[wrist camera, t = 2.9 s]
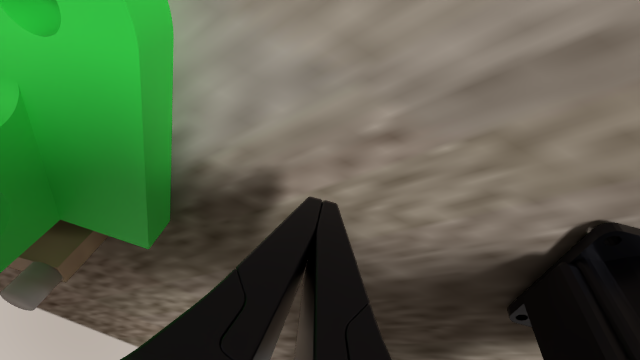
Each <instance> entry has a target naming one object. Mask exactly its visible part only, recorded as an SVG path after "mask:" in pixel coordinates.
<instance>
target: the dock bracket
mask: <svg viewBox="0 0 640 360" xmlns="http://www.w3.org/2000/svg"><path fill="white" fill-rule="evenodd" d="M107 237H108V235H105V234H102V233H99V232H96V231H93V230H90V229H87V228H84V227H81V226H78V225H75V224H72V223H69V222H66V221H63V220H59V221H58V222H57V223H56V224H55V225H54V226H53V227H51V228H50V229H49V230H48V231H47V232H46V233H45V234H44V235H42V236H41V237H40V238H39V239H38V240H37V241H36V242H35V243H33V244H32V245H31V246H30V247H29V248H28V249H27V250H26V251H24V252H23V253H22V254H21V255H20V256H19V257H18V258H17V259H15V260H14V261H13V262H12V263H11V264H10V265H9V266H8V267H9V268H12V269H16V270H20V271H23V272H22V273H21V274H20V275H18V276H17V277H16V278H15V279H14V280H13V281H12V282H11V283H10V284H9V285H8V286H7V287H6V288H5V289H4V290H3V291H1V292H0V295H1V296H2V298H3V299H5V300H6V301H7V302H9V303H10V304H12V305H14V306H16V307H18V308H21V309H24V310H34V309H35V308H36V307H37V306H38V305H39V304H40V303H41V302H42V301H43V300H44V298H45V297H46V296H47V295H48V294H49V293H50V292H51V291H52V290H53V289H54V288H55V287H56V286H57V284H58V283H59V282H60V281H61V282H65V283H66V282H67V281H68V280H69V279H70V278H71V277H72V276H73V274H74V273H75V272H76V271H77V270H78V269H79V268H80V267H81V266H82V265H83V263H84V262H85V261H86V260H87V259H88V258H89V257H90V256H91V255H92V254H93V252H94V251H95V250H96V249H97V248H98V247H99V246H100V245H101V244H102V243H103V241H104V240H105V239H106V238H107Z"/></svg>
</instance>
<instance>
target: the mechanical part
mask: <svg viewBox="0 0 640 360" xmlns="http://www.w3.org/2000/svg"><path fill="white" fill-rule="evenodd" d="M172 89H173V24H172V17H171V13H170V8H169V4H168V1H167V0H0V273H1V272H2V271H3V270H4V269H5V268H6V267H8V266H9V265H10V264H11V263H12V262H13V261H14V260H15V259H17V258H18V257H19V256H20V255H21V254H22V253H23V252H24V251H26V250H27V249H28V248H29V247H30V246H31V245H32V244H33V243H35V242H36V241H37V240H38V239H39V238H40V237H41V236H42V235H44V234H45V233H46V232H47V231H48V230H49V229H50V228H51V227H53V226H54V225H55V224H56V223H57V222H58V221H59V220H63V221H66V222H69V223H72V224H75V225H78V226H81V227H84V228H87V229H90V230H93V231H96V232H99V233H102V234H105V235H108V236H110V237H113V238H116V239H119V240H122V241H125V242H128V243H131V244H134V245H137V246H140V247H143V248H146V249H150V247H151V246H152V245H153V243H154V242H155V240H156V239H157V238H158V236H159V235H160V234H161V232H162V231H163V230H164V228H165V227H166V226H167V224H168V223H169V222H170V198H171V144H172Z"/></svg>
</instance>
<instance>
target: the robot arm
mask: <svg viewBox="0 0 640 360" xmlns="http://www.w3.org/2000/svg"><path fill="white" fill-rule="evenodd" d="M308 256H309V257H308ZM307 260H308V261H307ZM306 264H307V265H306ZM305 267H306V269H305ZM304 271H305V275H304V282H303V290H302V298H301V307H300V315H299V323H298V332H297V340H296V349H295V357H294V360H391V357H390V355H389V353H388V350H387V348H386V346H385V343H384V341H383V339H382V336H381V333H380V331H379V328H378V325H377V322H376V320H375V317H374V314H373V311H372V308H371V305H370V304H369V299H368V296H367V293H366V290H365V287H364V284H363V281H362V278H361V275H360V272H359V269H358V266H357V263H356V260H355V257H354V253H353V250H352V247H351V244H350V241H349V238H348V235H347V232H346V229H345V226H344V223H343V220H342V217H341V214H340V211H339V208H338V205H337V204H336V203H333V202H329V201H323V202H322V200H321V199H318V198H314V197H308V198H307V199H306V200H305V201H304V202H303V203H302V204H301V205H300V206H299V207H298V208H297V209H296V210H294V211H293V212H292V213H291V214H290V215H289V216H288V217H287V218H286V219H285V220H284V221H283V222H282V223H281V224H280V225H279V226H278V227H277V228H276V229H275V230H274V231H273V232H272V233H271V234H270V235H269V236H268V237H267V238H266V239H265V240H264V241H263V242H262V243H261V244H260V245H259V246H258V247H257V248H256V249H254V250H253V251H252V252H251V253H250V254H249V255H248V256H247V257H246V258H245V259H244V260H243V261H242V262H241V263H240V264H239V265H238V266H237V267H236V269H234V270H233V271H232V272H231V273H230V274H229V275H228V276H227V277H226V278H225V279H224V280H222V281H221V282H220V283H219V284H218V285H217V286H216V287H215V288H214V289H213V290H211V291H210V292H209V293H208V294H207V295H206V296H204V297H203V298H202V299H201V300H199V301H198V302H197V303H196V304H195V305H193V306H192V307H191V308H190V309H188V310H187V311H186V312H184V313H183V314H182V315H180V316H179V317H178V318H177V319H175V320H174V321H173V322H171V323H170V324H169V325H168V326H166V327H165V328H164V329H162V330H161V331H160V332H158V333H157V334H156V335H155V336H153V337H152V338H151V339H149V340H148V341H147V342H145V343H144V344H143V345H141V346H140V347H139V348H137V349H136V350H135V351H133V352H132V353H130V354H129V355H127V356H126V357H124V358H122V359H120V360H270V358H271V356H272V353H273V351H274V348H275V346H276V343H277V341H278V338H279V336H280V333H281V330H282V328H283V325H284V323H285V320H286V318H287V315H288V313H289V310H290V308H291V305H292V302H293V300H294V297H295V295H296V292H297V290H298V287H299V285H300V282H301V280H302V277H303V274H304ZM507 311H508V315H509V318H510V320H511V321H512V322H515V323H518V324H522V325H526V326H530V327H532V328H533V331H534V334H535V337H536V340H537V342H538V345H539V348H540V351H541V354H542V357H543V359H544V360H640V229H638V228H634V227H630V226H626V225H622V224H618V223H605V224H602V225H599V226H597V227H595V228H594V229H593V230H592V231H590V232H589V233H588V234H587V235H586V236H585V237H584V238H583V239H582V240H581V241H580V242H578V243H577V244H576V245H575V246H574V247H573V248H572V249H571V250H570V251H569V252H568V253H567V254H565V255H564V256H563V257H562V258H561V259H560V260H559V261H558V262H557V263H556V264H555V265H554V266H552V267H551V268H550V269H549V270H548V271H547V272H546V273H545V274H544V275H543V276H542V277H540V278H539V279H538V280H537V281H536V282H535V283H534V284H533V285H532V286H531V287H530V288H529V289H527V290H526V291H525V292H524V293H523V294H522V295H521V296H520V297H519V298H518V299H517V300H515V301H514V302H513V303H512V304H511V305H510V306H509V307H508V309H507Z"/></svg>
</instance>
